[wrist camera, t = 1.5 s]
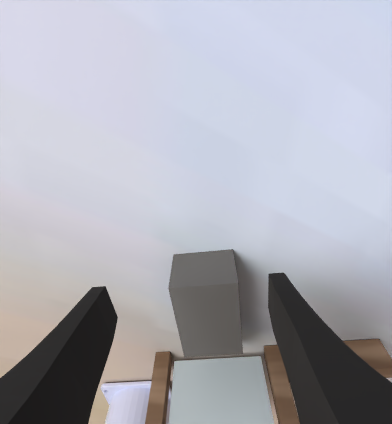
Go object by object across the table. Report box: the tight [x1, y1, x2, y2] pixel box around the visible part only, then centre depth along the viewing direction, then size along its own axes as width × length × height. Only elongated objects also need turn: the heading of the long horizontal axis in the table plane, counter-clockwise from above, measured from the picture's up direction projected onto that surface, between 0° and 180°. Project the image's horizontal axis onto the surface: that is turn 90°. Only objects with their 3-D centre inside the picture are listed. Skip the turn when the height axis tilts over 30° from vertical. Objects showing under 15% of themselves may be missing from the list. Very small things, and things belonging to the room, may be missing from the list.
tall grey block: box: [169, 249, 243, 357], centre depth 24 cm, size 10×5×4 cm, turn 7°
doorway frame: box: [145, 339, 392, 424], centre depth 25 cm, size 2×23×10 cm, turn 97°
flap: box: [169, 356, 274, 424], centre depth 26 cm, size 1×9×7 cm, turn 98°
